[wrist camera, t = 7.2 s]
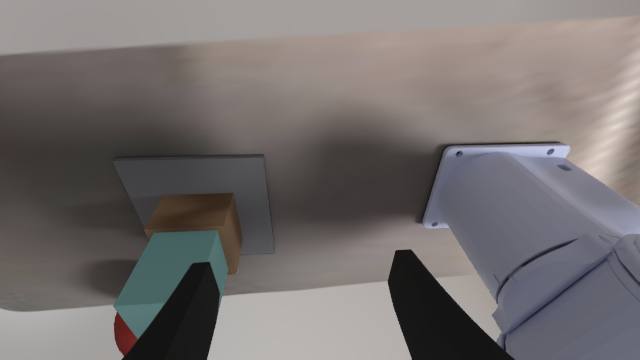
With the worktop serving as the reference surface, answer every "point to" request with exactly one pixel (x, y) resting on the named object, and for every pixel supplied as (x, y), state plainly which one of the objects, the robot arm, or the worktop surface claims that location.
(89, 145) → the worktop surface
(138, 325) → the teal block
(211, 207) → the walnut block
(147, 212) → the mat
